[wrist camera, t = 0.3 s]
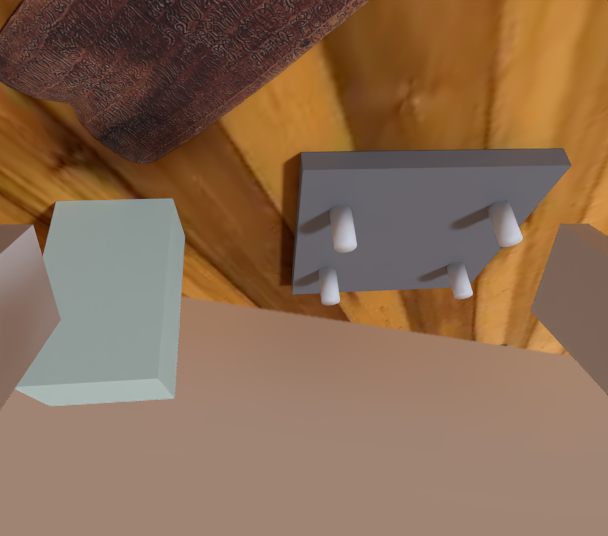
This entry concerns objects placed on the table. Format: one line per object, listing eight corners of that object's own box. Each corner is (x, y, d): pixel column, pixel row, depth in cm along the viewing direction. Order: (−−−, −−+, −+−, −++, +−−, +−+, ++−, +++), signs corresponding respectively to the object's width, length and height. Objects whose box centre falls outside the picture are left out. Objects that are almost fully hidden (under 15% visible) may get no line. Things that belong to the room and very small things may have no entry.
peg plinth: (301, 152, 29) (306, 208, 26) (563, 148, 30) (588, 201, 28) (291, 280, 44) (294, 322, 42) (464, 273, 46) (475, 313, 44)
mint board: (56, 201, 31) (11, 387, 25) (172, 198, 32) (157, 378, 25) (82, 239, 35) (50, 406, 29) (184, 236, 36) (174, 398, 30)
